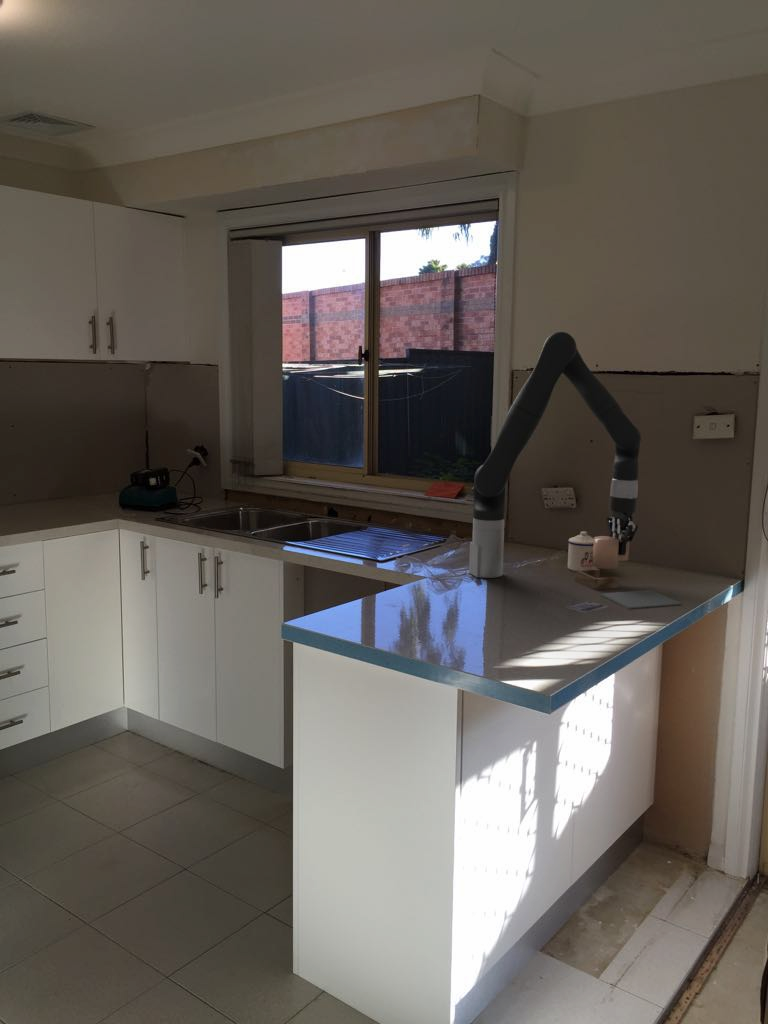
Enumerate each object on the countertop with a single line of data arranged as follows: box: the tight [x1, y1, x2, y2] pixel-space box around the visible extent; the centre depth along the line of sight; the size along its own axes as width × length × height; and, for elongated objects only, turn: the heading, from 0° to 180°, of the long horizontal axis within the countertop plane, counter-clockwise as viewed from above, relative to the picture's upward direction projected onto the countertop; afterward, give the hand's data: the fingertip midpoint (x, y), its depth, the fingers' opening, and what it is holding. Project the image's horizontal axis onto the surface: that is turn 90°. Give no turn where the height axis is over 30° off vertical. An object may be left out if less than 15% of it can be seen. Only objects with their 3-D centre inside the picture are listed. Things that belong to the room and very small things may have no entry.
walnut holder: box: [574, 568, 619, 590], centre depth 248 cm, size 8×11×3 cm
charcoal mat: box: [599, 589, 682, 610], centre depth 232 cm, size 16×14×1 cm
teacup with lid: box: [567, 531, 597, 572], centre depth 266 cm, size 12×9×12 cm
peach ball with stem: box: [592, 535, 630, 570], centre depth 248 cm, size 10×7×8 cm, turn 107°
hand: (619, 553), depth 249 cm, fingers closed on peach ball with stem
